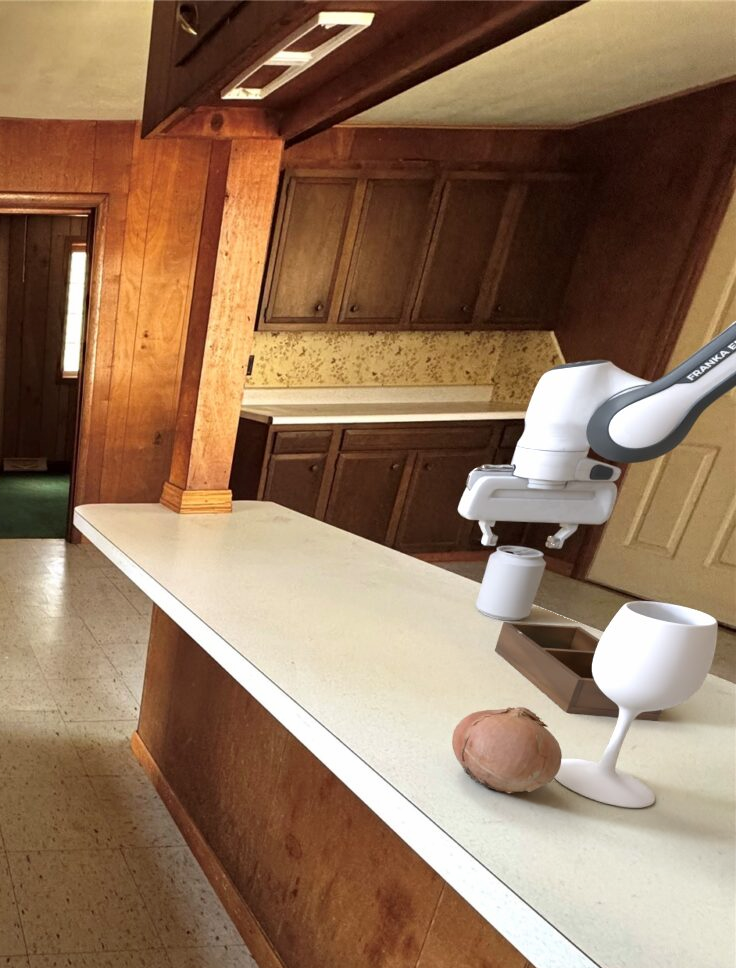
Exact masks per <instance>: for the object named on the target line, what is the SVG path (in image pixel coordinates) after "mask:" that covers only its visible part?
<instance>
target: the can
mask: <svg viewBox="0 0 736 968" xmlns="http://www.w3.org/2000/svg"><path fill="white" fill-rule="evenodd" d="M543 557H544V553H543V552H542V551H541V550H538V549H535V548H531V547H526V546H519V545H501V546H498V547H496V551H495V552H492V553H491V554H490V555H489V557H488V561H487V564H486V567H485V570H484V574H483V578H482V582H481V585H480V588H479V590H478V591H479V592H478V596H477V599H476V602H475V607H476V608H477V609H478V611H479V612H480V613H481V614H482V615H484V616H486V617H489V618H492V619H497V620H502V621H512V622H513V621H520V620H522V619H523V618H527V617H529V616H530V614H531V611H532V607H533V605H534V602H535V599H536V597H537V592H538V590H539V587H540V584H541V580H542V577H543V575H544V572H545V568H546V565H547V562H546V561H545V559H544V558H543Z"/></svg>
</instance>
